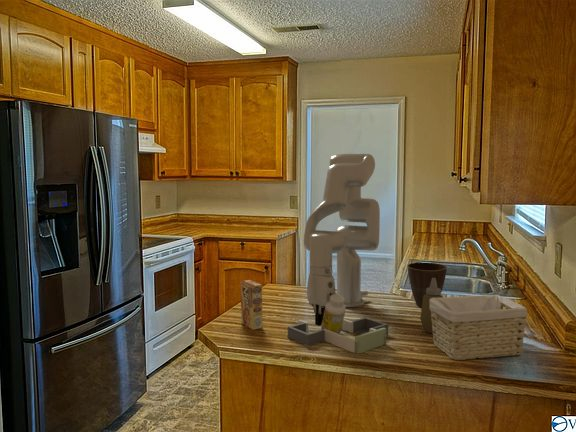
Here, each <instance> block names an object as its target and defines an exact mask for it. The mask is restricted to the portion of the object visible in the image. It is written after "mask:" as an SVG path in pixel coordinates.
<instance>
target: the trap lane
mask: <svg viewBox="0 0 576 432" xmlns="http://www.w3.org/2000/svg"><path fill="white" fill-rule="evenodd" d="M297 321H298V323H297V324H293V325H290V326H287V338H289V339H291V340H292V341H295V342H298V343H300V344H302V345H305V346H307V347H309V346H313V345H315V344H316V345H317V344H319V343H322V342H327V343H328V344H332V345H334V346H337V347H339V348H341V349H343V350H346V351H349V352H351V353H354V354H357V355H358V354H361V353H364V352H366V351H369V350H373V349H375V348H378V347H380V346H381V347H382V346H383V345H386V344H387V336H388V335H389V324H388V323H385V322H382V321H378V320H375V319H373V318H369V317H367V316H363V317H361V318H358V319H354V320H350V319H349V320H348V319H346V318H344V319H343V324H342V329H341V331H345V332H348V333H355V334H358V335H356V336H354V339H353V338H351V337H349V336H345V335H342V334H341V333H340V334H338V333H335V332H332V331H330V330H327V329H320V330H319V329H318V330H316V331H312V332H309V321H305V320H302V319H298V320H297Z"/></svg>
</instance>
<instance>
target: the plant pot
mask: <svg viewBox="0 0 576 432" xmlns="http://www.w3.org/2000/svg"><path fill="white" fill-rule="evenodd" d="M447 269H448V266H447V265H444V264H441V263H435V262H413V263H409V264H407V273H408V279H409V285H410V289H411V293H412V296H413V299H414V303H415V305H416V307H418V308H421V309H422V302H423V296H424V295H425V294H427V293H426V289H427V288H430V284H431V280H432V278H436V282H437V288H439V289H441V294H440V295H442V292H443V288H444V284H445V281H446V275H447V271H448V270H447Z"/></svg>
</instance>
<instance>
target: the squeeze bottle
mask: <svg viewBox="0 0 576 432" xmlns="http://www.w3.org/2000/svg"><path fill="white" fill-rule="evenodd" d="M426 293H427V294H425V295H424V296H423V302H422V308H421V309H420V310H421V312H420V318H419V319H420V320H419V321H420V322H421V325H422V329H423V331H424V332H426V333H430V334H433V331H432V317H431V310H430V308H429V306H430V302H429V300H430V299H431V298H443V297H444V296H443V295H442V292H441V289H439V288H437V282H436V278H432V280H431V284H430V288H427V289H426ZM440 294H441V295H440Z"/></svg>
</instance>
